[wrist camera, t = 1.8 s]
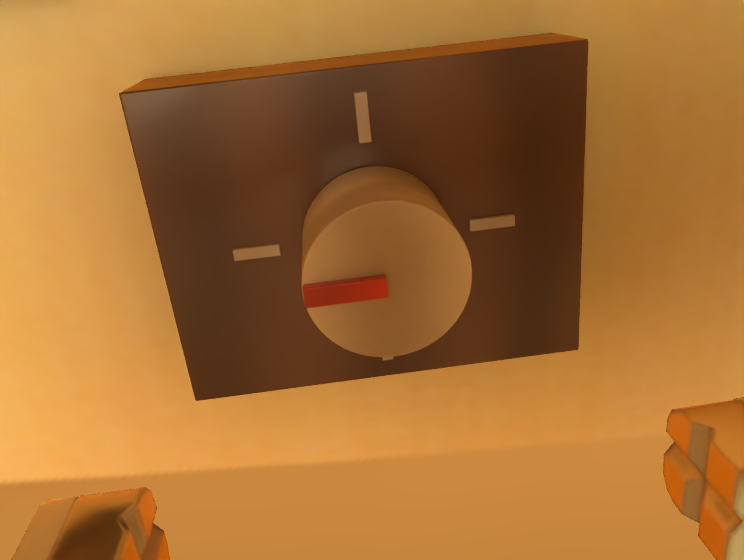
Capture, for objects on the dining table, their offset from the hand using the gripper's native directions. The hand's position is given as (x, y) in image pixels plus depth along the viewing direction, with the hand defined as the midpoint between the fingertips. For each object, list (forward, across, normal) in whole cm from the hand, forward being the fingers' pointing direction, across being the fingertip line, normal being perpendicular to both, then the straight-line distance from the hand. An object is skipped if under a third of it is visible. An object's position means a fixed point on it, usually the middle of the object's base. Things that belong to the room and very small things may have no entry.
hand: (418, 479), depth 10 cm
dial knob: (+11, -1, 0) cm, 11 cm away
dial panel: (+14, -1, 0) cm, 14 cm away
